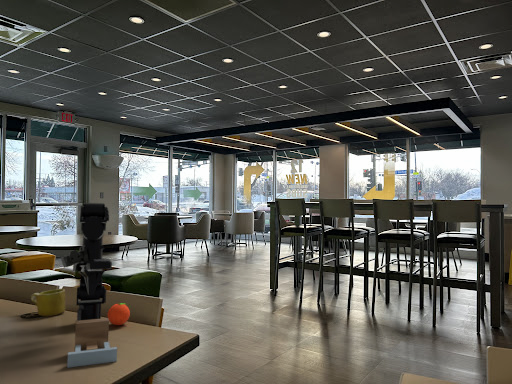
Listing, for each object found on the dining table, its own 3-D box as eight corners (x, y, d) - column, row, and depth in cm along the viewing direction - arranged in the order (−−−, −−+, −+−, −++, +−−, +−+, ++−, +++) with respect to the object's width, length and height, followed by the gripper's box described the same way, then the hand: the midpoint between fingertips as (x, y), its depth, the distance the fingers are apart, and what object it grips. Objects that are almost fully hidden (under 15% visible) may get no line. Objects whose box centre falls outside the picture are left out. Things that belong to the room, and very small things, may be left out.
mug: (77, 306, 144) (67, 281, 143) (55, 321, 135) (44, 295, 133) (53, 309, 149) (44, 285, 147) (30, 324, 139) (20, 299, 138)
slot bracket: (68, 358, 97) (68, 346, 97) (114, 352, 102) (115, 341, 102) (67, 367, 91) (67, 354, 92) (116, 361, 96) (117, 348, 96)
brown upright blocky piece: (74, 351, 102) (76, 320, 103) (107, 348, 105) (108, 318, 106) (73, 363, 94) (75, 329, 94) (109, 359, 97) (110, 326, 98)
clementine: (125, 320, 133) (126, 299, 134) (136, 324, 129) (137, 302, 129) (103, 325, 127) (104, 302, 128) (113, 329, 123) (114, 306, 123)
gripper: (56, 245, 122) (53, 296, 119) (73, 239, 108) (70, 297, 105) (93, 245, 129) (91, 293, 126) (113, 240, 115) (111, 294, 112)
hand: (90, 294), depth 117 cm, fingers closed
